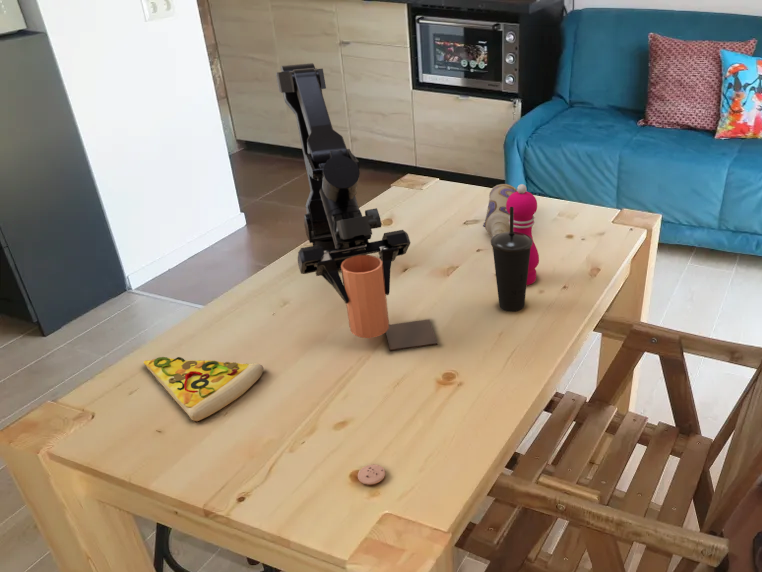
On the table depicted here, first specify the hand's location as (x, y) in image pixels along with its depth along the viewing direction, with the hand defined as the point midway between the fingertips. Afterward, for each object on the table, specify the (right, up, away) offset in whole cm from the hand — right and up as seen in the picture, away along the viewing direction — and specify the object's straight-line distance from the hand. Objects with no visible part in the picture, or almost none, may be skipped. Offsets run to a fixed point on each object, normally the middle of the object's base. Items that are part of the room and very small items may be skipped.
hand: (367, 298), depth 128 cm
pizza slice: (-28, -14, -4) cm, 32 cm away
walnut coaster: (+6, -6, +8) cm, 12 cm away
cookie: (+5, -28, -22) cm, 36 cm away
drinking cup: (+25, 0, +17) cm, 30 cm away
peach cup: (-1, -5, +5) cm, 7 cm away
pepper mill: (+26, +7, +26) cm, 38 cm away
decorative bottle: (+21, +21, +46) cm, 55 cm away
